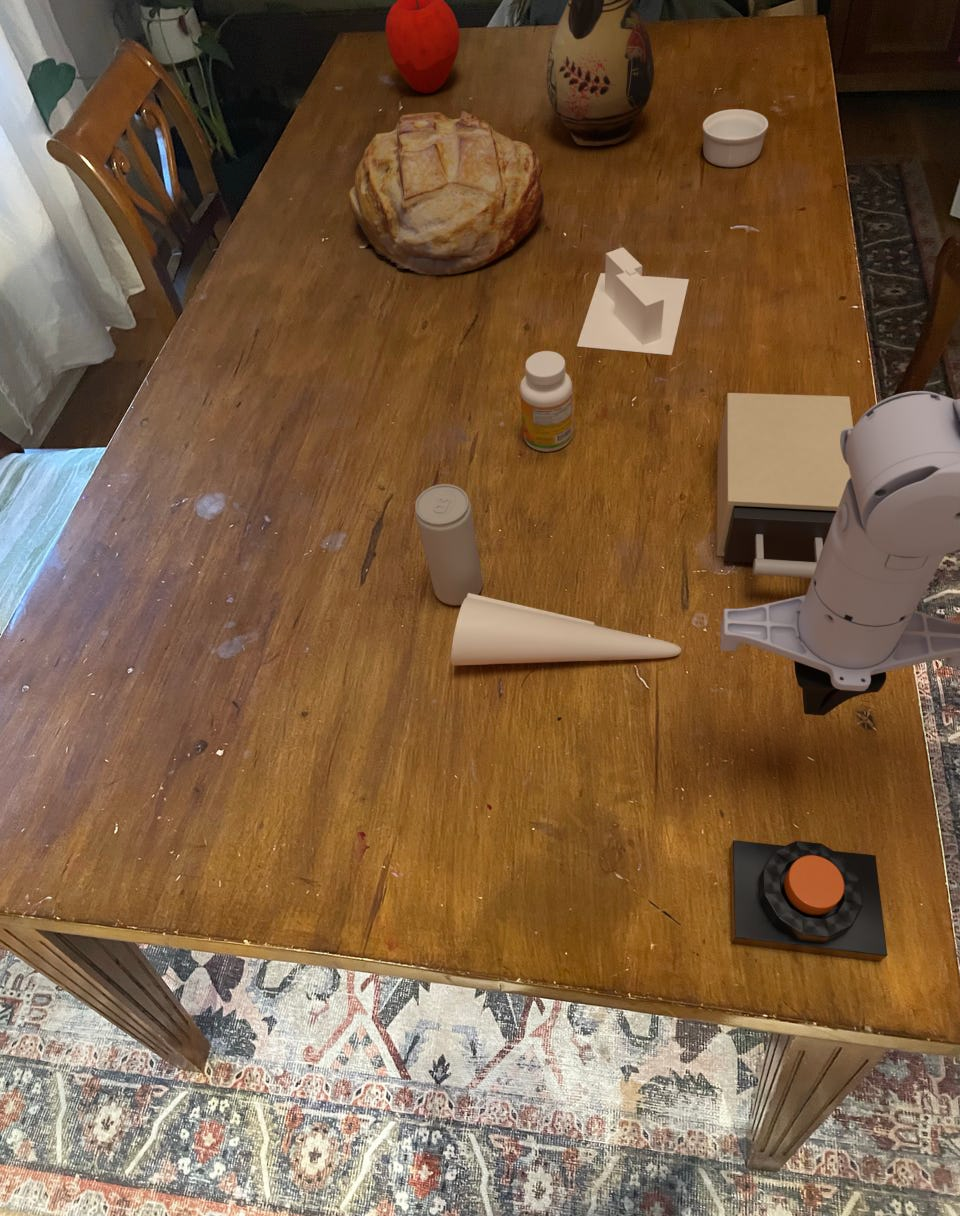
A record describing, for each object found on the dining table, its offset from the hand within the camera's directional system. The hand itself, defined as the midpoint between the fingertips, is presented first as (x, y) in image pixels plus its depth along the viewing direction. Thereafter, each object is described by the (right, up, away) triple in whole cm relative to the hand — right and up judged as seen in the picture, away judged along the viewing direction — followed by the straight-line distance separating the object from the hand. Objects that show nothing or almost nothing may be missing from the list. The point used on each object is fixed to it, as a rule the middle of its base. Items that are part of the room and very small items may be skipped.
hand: (813, 702), depth 59 cm
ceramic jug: (-6, +79, +70) cm, 106 cm away
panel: (0, -15, +2) cm, 15 cm away
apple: (-32, +95, +85) cm, 131 cm away
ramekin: (+13, +72, +63) cm, 96 cm away
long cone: (-16, +2, +16) cm, 23 cm away
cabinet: (+6, +17, +24) cm, 30 cm away
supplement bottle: (-16, +25, +33) cm, 45 cm away
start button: (0, -13, 0) cm, 13 cm away
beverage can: (-25, +8, +22) cm, 35 cm away
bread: (-28, +60, +60) cm, 89 cm away
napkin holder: (-4, +43, +44) cm, 61 cm away
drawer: (+5, +14, +21) cm, 26 cm away
